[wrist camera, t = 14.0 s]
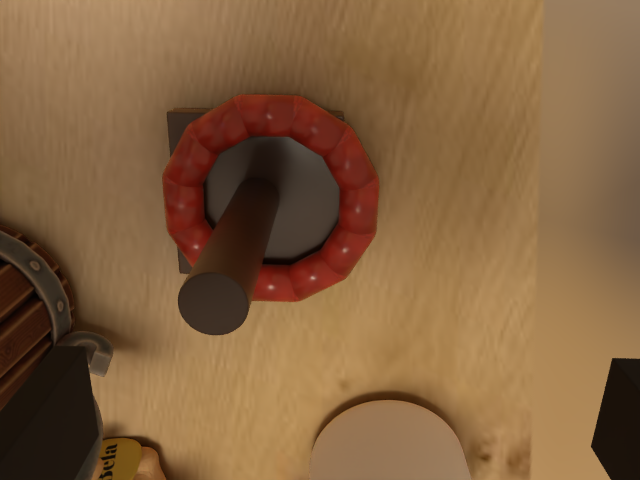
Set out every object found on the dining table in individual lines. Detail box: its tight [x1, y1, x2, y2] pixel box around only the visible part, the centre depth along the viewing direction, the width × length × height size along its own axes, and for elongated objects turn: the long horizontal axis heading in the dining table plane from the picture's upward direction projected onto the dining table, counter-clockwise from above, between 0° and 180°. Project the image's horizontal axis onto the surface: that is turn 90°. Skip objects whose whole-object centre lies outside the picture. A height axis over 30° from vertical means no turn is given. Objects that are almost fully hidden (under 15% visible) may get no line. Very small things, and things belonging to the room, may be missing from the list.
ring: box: [162, 94, 379, 302], centre depth 29 cm, size 11×11×2 cm
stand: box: [167, 108, 344, 335], centre depth 25 cm, size 9×9×14 cm
